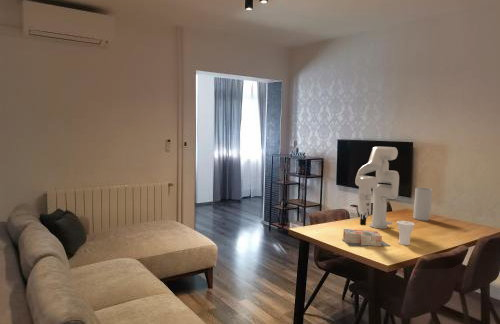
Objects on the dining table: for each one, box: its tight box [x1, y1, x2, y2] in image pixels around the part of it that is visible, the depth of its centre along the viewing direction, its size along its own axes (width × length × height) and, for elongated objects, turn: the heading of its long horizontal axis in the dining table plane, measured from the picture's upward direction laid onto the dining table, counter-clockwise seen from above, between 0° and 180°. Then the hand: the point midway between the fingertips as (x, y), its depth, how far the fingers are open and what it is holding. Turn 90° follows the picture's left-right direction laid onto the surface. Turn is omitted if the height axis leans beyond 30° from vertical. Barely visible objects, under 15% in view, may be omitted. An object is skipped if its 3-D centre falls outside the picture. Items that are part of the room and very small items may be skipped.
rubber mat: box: [342, 239, 391, 247], centre depth 232 cm, size 26×13×1 cm, turn 98°
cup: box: [396, 220, 415, 246], centre depth 232 cm, size 10×10×14 cm
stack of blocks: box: [342, 228, 383, 247], centre depth 232 cm, size 21×6×12 cm
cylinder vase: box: [412, 187, 433, 222], centre depth 301 cm, size 12×12×25 cm
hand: (362, 224), depth 236 cm, fingers closed
